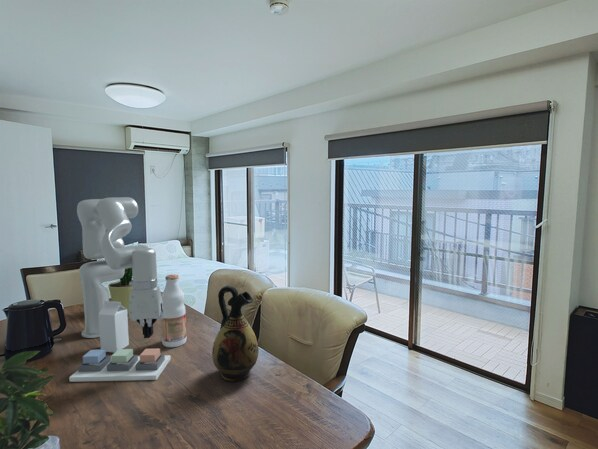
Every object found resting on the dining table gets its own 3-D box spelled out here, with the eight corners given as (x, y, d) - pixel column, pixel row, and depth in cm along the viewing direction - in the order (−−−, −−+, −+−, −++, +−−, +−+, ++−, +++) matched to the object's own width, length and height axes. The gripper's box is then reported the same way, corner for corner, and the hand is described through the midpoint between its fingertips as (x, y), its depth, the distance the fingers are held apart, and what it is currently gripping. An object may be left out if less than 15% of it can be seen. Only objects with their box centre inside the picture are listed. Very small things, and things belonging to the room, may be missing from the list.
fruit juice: (157, 345, 139) (154, 277, 137) (174, 336, 148) (171, 272, 145) (174, 349, 135) (171, 279, 133) (191, 340, 144) (189, 274, 141)
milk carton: (116, 353, 133) (113, 305, 131) (100, 351, 134) (97, 303, 132) (129, 345, 140) (126, 299, 138) (113, 343, 141) (111, 298, 139)
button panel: (93, 360, 127) (92, 351, 127) (170, 359, 128) (170, 350, 128) (69, 381, 113) (68, 371, 113) (156, 379, 114) (155, 369, 114)
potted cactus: (114, 307, 185) (111, 252, 182) (145, 305, 188) (142, 250, 186) (105, 317, 170) (102, 257, 167) (139, 315, 174) (136, 256, 171)
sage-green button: (118, 356, 122) (118, 349, 122) (133, 355, 123) (132, 348, 122) (111, 363, 117) (111, 355, 117) (126, 362, 118) (126, 355, 117)
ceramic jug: (266, 366, 122) (265, 283, 119) (245, 390, 108) (243, 296, 105) (224, 359, 128) (222, 279, 125) (199, 380, 113) (196, 291, 110)
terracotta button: (146, 355, 123) (145, 348, 123) (160, 355, 123) (160, 348, 123) (140, 362, 118) (139, 355, 118) (154, 362, 118) (154, 355, 118)
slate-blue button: (91, 356, 122) (90, 349, 122) (105, 356, 122) (105, 349, 122) (83, 363, 117) (82, 356, 117) (98, 363, 117) (97, 356, 117)
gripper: (117, 288, 114) (121, 341, 115) (163, 287, 114) (166, 340, 116) (128, 282, 121) (131, 332, 123) (171, 281, 122) (173, 331, 123)
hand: (148, 336), depth 119 cm, fingers closed
